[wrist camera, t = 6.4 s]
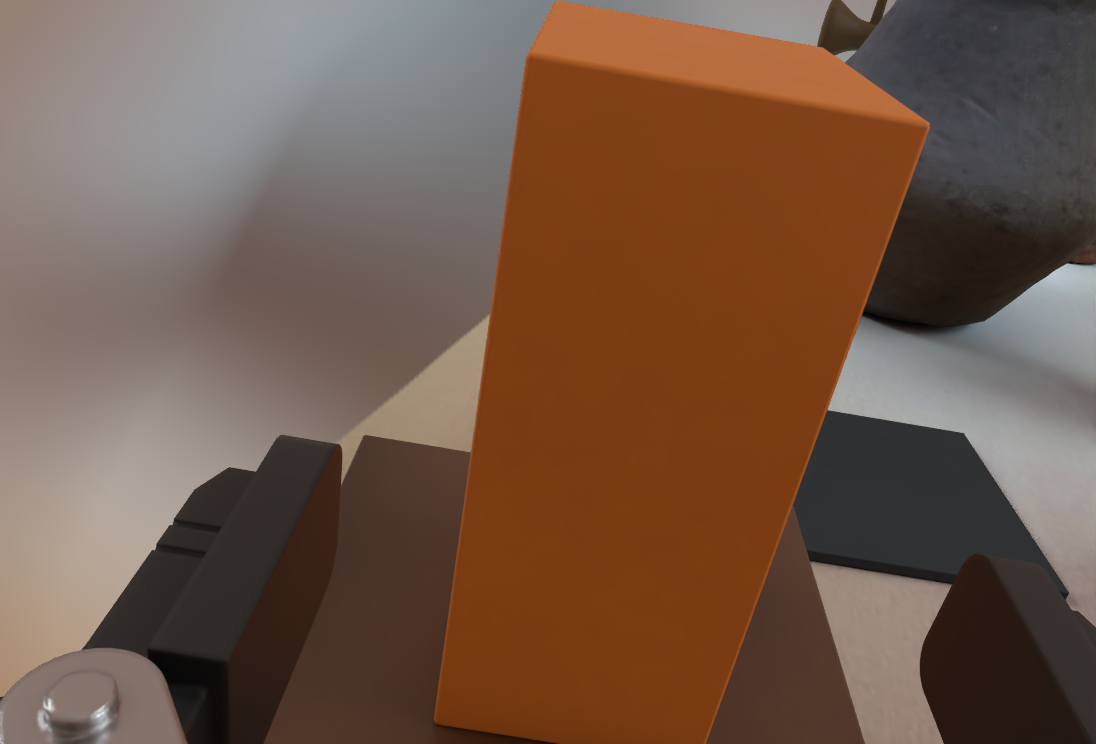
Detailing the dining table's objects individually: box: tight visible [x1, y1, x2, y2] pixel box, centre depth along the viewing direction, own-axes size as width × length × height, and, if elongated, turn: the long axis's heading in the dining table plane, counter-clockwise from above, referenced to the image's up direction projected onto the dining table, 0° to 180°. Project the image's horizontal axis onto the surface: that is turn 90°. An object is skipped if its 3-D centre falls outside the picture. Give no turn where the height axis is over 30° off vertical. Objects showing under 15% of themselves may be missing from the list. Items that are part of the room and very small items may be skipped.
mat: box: [792, 410, 1069, 599], centre depth 41 cm, size 14×12×1 cm
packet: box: [434, 1, 930, 744], centre depth 16 cm, size 5×6×12 cm
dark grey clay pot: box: [845, 0, 1096, 327], centre depth 58 cm, size 21×22×25 cm
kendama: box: [817, 0, 887, 55], centre depth 89 cm, size 6×10×20 cm, turn 73°
